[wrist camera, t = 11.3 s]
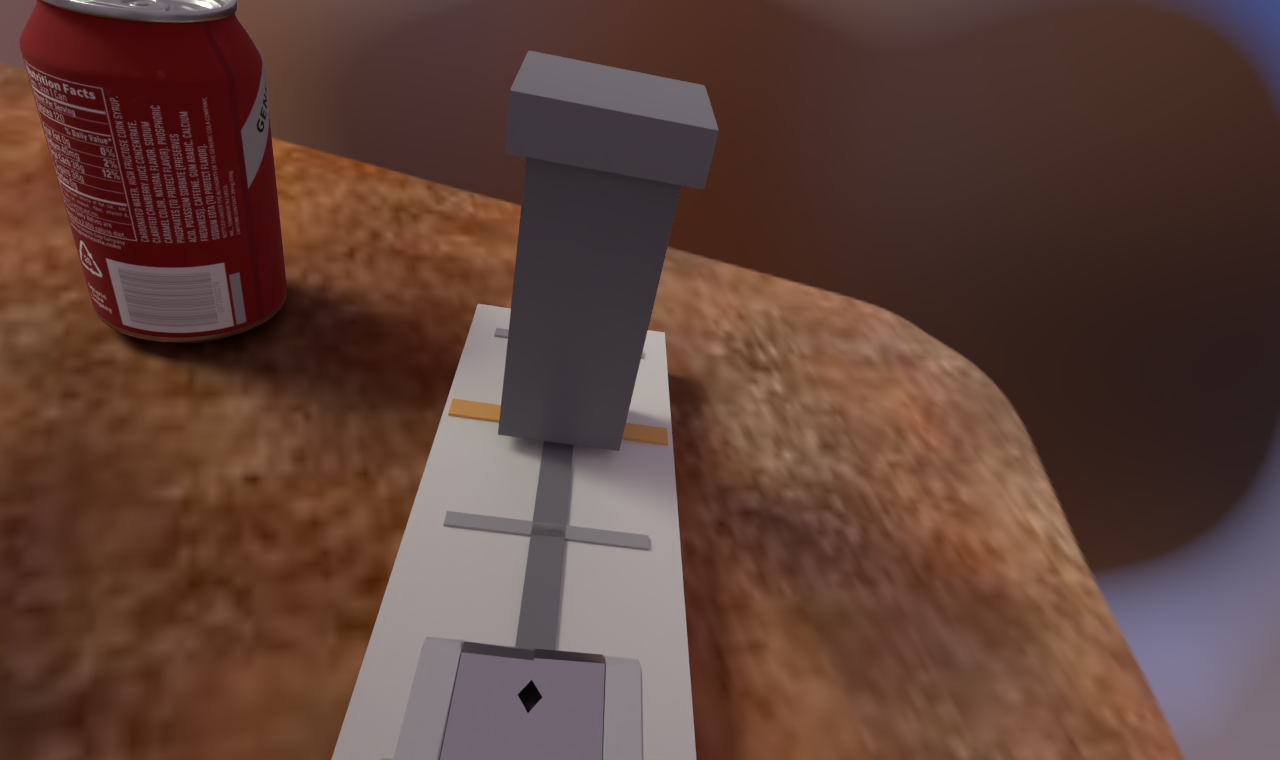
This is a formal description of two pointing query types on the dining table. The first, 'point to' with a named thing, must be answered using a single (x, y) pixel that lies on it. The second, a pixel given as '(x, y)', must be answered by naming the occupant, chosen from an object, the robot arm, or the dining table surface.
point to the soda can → (162, 162)
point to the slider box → (536, 552)
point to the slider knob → (592, 237)
